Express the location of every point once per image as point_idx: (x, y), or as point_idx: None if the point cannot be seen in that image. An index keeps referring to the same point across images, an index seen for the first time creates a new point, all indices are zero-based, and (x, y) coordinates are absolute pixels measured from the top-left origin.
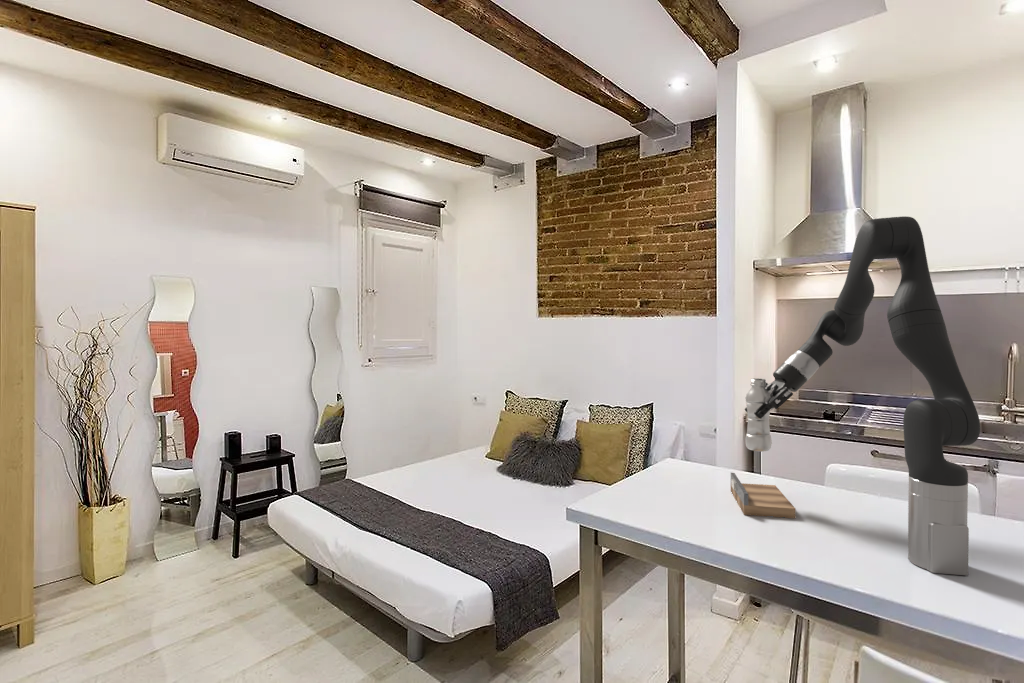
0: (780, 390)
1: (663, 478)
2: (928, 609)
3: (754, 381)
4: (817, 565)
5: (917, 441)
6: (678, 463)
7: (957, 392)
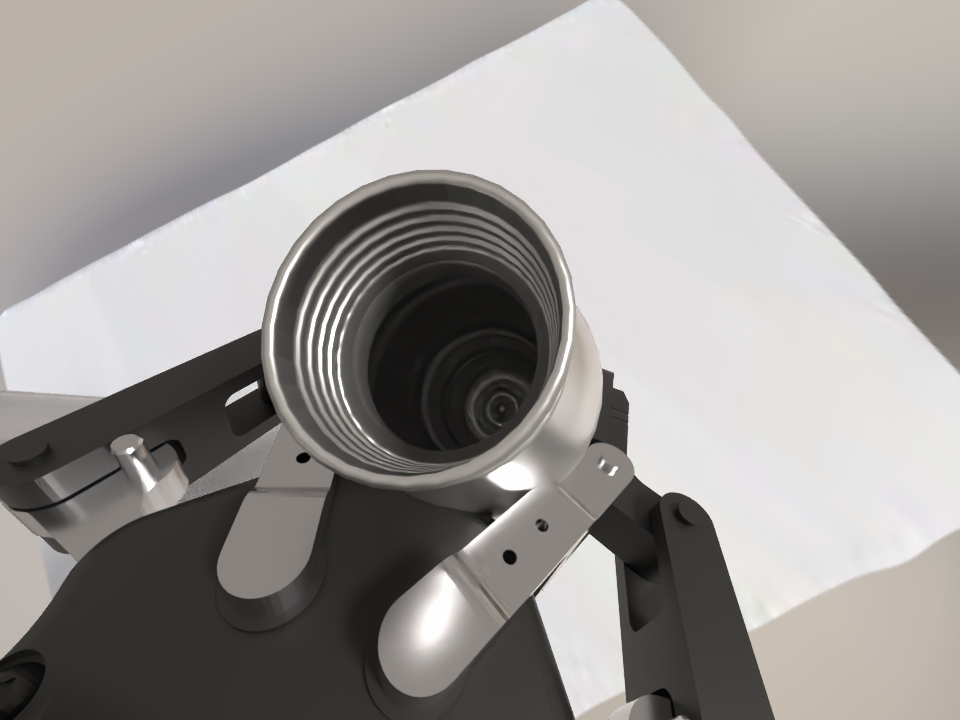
0: (129, 444)
1: (787, 295)
2: (67, 281)
3: (392, 202)
4: (210, 250)
5: None
6: None
7: None
